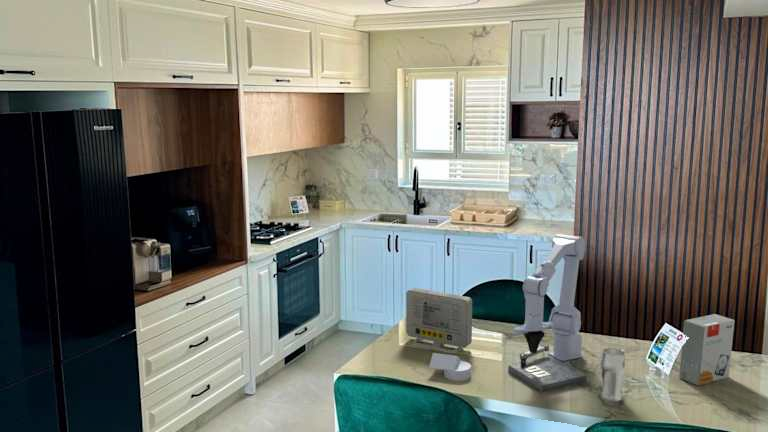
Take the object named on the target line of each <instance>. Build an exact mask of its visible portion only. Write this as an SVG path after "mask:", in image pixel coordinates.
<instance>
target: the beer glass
mask: <svg viewBox="0 0 768 432" xmlns="http://www.w3.org/2000/svg"><path fill="white" fill-rule="evenodd" d="M601 353H602V354H601V361H600V369H601V370H600V371H601V378H602V390H601V394H600V398H601V399H602V400H604V401H606V402H610V403H618V402H620V401H622V399H623V396H622V395H623V394H622V385H623V384H622V383H623V380H624V376H625V371H626V352H625V350H623V349H621V348H618V347H605V348H603V349H602V352H601Z"/></svg>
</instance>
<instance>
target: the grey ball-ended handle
mask: <svg viewBox="0 0 768 432" xmlns="http://www.w3.org/2000/svg"><path fill="white" fill-rule="evenodd" d="M548 351H549V352H550V345H549V344H545V343H540V345H539V346H538V349H537V353H535V354H533V353H531V352H530V351H529V350H528V351H525V352H521V353H519V359H520V360H521V359H522V360H526V361H527V359H529V358H531V357H533V356H536V355H539V354H541V353H543V352H548Z"/></svg>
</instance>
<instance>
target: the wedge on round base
mask: <svg viewBox="0 0 768 432" xmlns="http://www.w3.org/2000/svg"><path fill="white" fill-rule="evenodd" d="M428 367H429V368H432V369H441V370H443V376H444V378H446V379H448V380H451V381H458V382H459V381H460V382H461V381H467V380H469V379H470V378H471V376H472V364H470V362H468V361H465V360H461V359H460V357H459V356H458V355H452V354H446V353H438V352H437V353H436V352H432V355H431V359H430V362H429V366H428ZM468 378H469V379H468Z"/></svg>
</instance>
